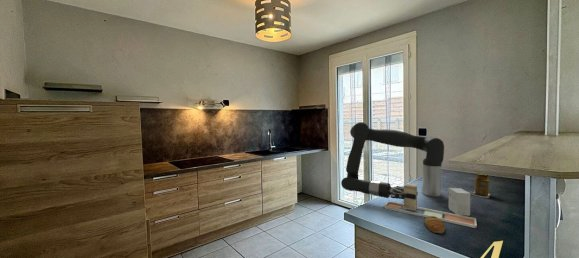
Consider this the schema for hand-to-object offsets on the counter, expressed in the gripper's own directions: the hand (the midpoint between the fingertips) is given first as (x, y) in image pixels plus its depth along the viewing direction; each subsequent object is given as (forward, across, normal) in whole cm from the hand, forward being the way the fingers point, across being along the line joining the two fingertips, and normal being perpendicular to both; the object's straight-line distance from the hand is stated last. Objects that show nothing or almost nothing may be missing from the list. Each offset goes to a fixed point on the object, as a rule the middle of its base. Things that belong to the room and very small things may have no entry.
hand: (416, 195), depth 109 cm
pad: (+7, 0, +8) cm, 10 cm away
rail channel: (+4, 0, +8) cm, 9 cm away
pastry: (+9, -14, +8) cm, 18 cm away
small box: (+16, +11, +8) cm, 21 cm away
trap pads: (+4, 0, +8) cm, 9 cm away
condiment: (+26, +48, +8) cm, 55 cm away
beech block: (-3, 0, +6) cm, 7 cm away
